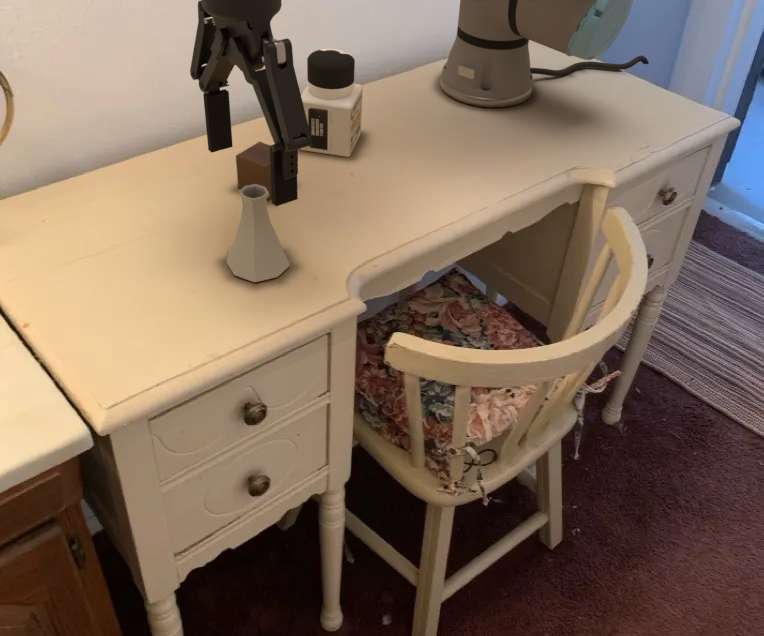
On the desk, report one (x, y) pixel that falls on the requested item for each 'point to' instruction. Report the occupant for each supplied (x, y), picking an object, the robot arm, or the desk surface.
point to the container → (332, 102)
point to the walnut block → (254, 167)
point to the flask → (256, 240)
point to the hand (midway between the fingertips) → (251, 174)
